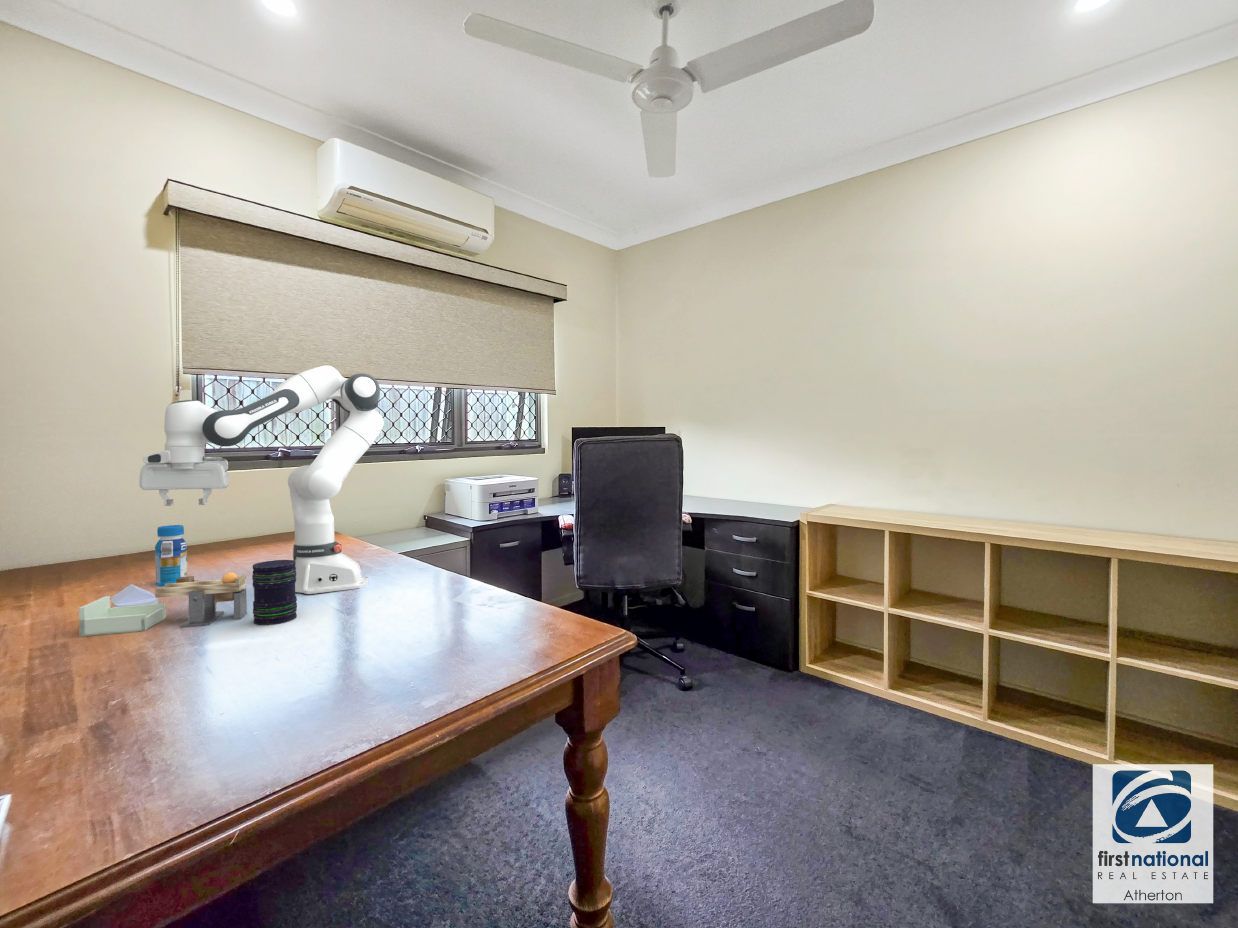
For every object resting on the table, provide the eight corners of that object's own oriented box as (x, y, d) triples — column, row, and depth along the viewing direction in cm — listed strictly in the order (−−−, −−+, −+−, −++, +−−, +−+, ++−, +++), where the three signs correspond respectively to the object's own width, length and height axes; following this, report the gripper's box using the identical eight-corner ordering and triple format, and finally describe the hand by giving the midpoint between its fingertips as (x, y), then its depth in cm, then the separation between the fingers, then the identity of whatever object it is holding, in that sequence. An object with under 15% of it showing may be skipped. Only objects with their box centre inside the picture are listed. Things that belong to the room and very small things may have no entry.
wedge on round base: (109, 610, 151) (117, 620, 142) (109, 587, 151) (116, 594, 142) (151, 603, 158) (161, 612, 149) (151, 581, 157) (161, 588, 149)
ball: (240, 583, 146) (240, 570, 146) (235, 586, 143) (235, 573, 143) (224, 584, 145) (224, 571, 145) (219, 588, 142) (219, 574, 142)
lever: (256, 587, 156) (256, 567, 156) (239, 600, 142) (238, 578, 142) (181, 592, 151) (181, 571, 150) (155, 607, 136) (154, 584, 136)
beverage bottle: (148, 588, 176) (147, 527, 175) (176, 582, 184) (175, 524, 183) (167, 590, 173) (165, 528, 173) (194, 584, 181) (193, 524, 181)
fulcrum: (250, 610, 150) (249, 580, 150) (236, 622, 140) (236, 589, 140) (198, 615, 146) (197, 583, 146) (180, 627, 136) (179, 593, 136)
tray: (165, 617, 144) (165, 591, 144) (145, 630, 134) (144, 602, 134) (105, 623, 140) (105, 596, 140) (79, 636, 130) (78, 607, 129)
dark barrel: (275, 626, 137) (274, 568, 136) (243, 624, 139) (242, 566, 138) (306, 614, 146) (305, 560, 146) (275, 612, 148) (274, 559, 148)
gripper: (232, 456, 160) (232, 503, 160) (147, 456, 153) (148, 505, 154) (224, 456, 154) (224, 504, 154) (135, 457, 147) (136, 507, 148)
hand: (186, 505), depth 154 cm, fingers open, 7 cm apart
